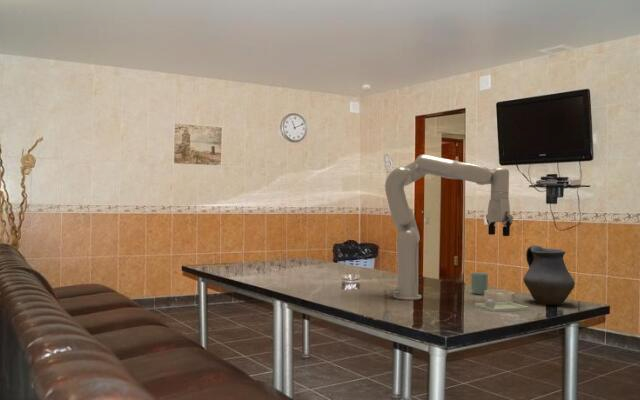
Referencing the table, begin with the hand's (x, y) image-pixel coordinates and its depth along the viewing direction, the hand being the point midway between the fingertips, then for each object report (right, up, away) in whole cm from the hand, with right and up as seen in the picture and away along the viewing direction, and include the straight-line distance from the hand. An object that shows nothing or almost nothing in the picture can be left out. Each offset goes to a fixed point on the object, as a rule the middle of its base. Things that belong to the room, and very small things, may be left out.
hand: (498, 235), depth 235 cm
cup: (-2, -30, +22) cm, 38 cm away
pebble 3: (+1, -29, +1) cm, 29 cm away
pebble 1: (0, -27, +3) cm, 28 cm away
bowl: (0, -30, +1) cm, 30 cm away
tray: (-4, -30, -14) cm, 33 cm away
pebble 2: (-9, -29, -16) cm, 34 cm away
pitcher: (+21, -30, 0) cm, 37 cm away
